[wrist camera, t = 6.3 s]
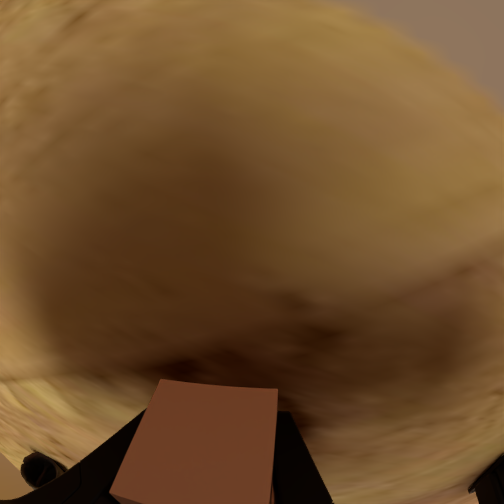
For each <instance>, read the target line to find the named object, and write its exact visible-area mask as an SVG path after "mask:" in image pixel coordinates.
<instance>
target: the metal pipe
mask: <svg viewBox="0 0 504 504" xmlns="http://www.w3.org/2000/svg"><path fill="white" fill-rule="evenodd" d="M23 462H24V464H22V465H21V475H22V477H23V478H24V479H25V481H26V483H27V484H28V485H29V486H31V487H32V488H33V489H34V490H35V489H37V488H39V487H41V486H43V485H45V484H47V483H48V482H50V481H52V480H53V479H55V478H57V477H58V476H60V475H62V474H63V473H64V472H63V471H62V470H61V468H60V467H59V466H58V465H57V464H56V463H55V462H54V461H53V460H52V459H51V458H49V457H47V456H45V455H43V454H41V453H39V452H36V453H32V454H30V455H28V456H27V457H25V458H24V460H23Z"/></svg>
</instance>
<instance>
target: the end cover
mask: <svg viewBox="0 0 504 504" xmlns="http://www.w3.org/2000/svg"><path fill="white" fill-rule="evenodd" d="M277 403H278V389H268V388H246V387H231V386H218V385H207V384H198V383H189V382H180V381H173V380H166V379H160V381H159V384H158V386H157V388H156V390H155V392H154V394H153V396H152V398H151V401H150V403H149V405H148V407H147V409H146V411H145V413H144V416H143V418H142V420H141V422H140V424H139V426H138V429H137V431H136V433H135V435H134V437H133V440H132V442H131V444H130V446H129V448H128V451H127V453H126V455H125V457H124V460H123V462H122V464H121V466H120V469H119V471H118V473H117V475H116V478H115V480H114V482H113V485H112V487H111V489H110V491H109V493H110V494H111V495H112V496H113V497H114V498H115V499H116V500H117V501H118V502H119V503H120V504H274V496H273V465H274V448H275V435H276V421H277Z"/></svg>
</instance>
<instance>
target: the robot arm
mask: <svg viewBox="0 0 504 504" xmlns="http://www.w3.org/2000/svg"><path fill="white" fill-rule="evenodd" d="M146 409H147V408H146ZM146 409H145V410H143V411H142V412H141V413H140V414H139V415H137V416H136V417H135V418H134V419H133V420H131V421H130V422H129V423H128V424H126V425H125V426H124V427H123V428H122V429H120V430H119V431H118V432H117V433H115V434H114V435H113V436H112V437H110V438H109V439H108V440H107V441H105V442H104V443H103V444H101V445H100V446H99V447H98V448H96V449H95V450H94V451H93V452H91V453H90V454H89V455H87V456H86V457H85V458H83V459H82V460H81V461H80V462H78V463H77V464H75V465H74V466H73V467H71V468H70V469H69V470H67V471H66V472H64V473H63V474H62V475H60V476H58V477H57V478H55V479H53V480H52V481H50V482H48V483H47V484H45V485H43V486H41V487H39V488H37V489H35V490H34V491H32V492H30V493H28V494H26V495H24V496H22V497H19V498H16V499H12V500H0V504H120V503H119V502H118V501H117V500H116V499H115V498H114V497H113V496H112V495H111V494H110V493H109V491H110V489H111V487H112V485H113V482H114V480H115V478H116V475H117V473H118V471H119V469H120V466H121V464H122V462H123V460H124V457H125V455H126V453H127V451H128V448H129V446H130V444H131V442H132V440H133V437H134V435H135V433H136V431H137V429H138V426H139V424H140V422H141V420H142V418H143V416H144V413H145V411H146ZM468 492H469V494H470V493H473V492H476V495H477V498H478V502H479V504H504V455H503V456H502V457H501V458H500V459H499V460H498V461H497V462H496V463H495V464H494V465H493V466H492V467H491V468H490V469H489V470H488V471H487V472H486V473H485V474H484V475H483V476H482V477H481V478H480V479H479V480H478V481H477V482H476V483H475V484H474V485H473V486H472V487H471V488H470V489H468ZM273 496H274V504H334V503H332V502H333V500H332V498H331V496H330V494H329V492H328V490H327V488H326V486H325V484H324V482H323V480H322V478H321V476H320V474H319V472H318V470H317V468H316V465H315V463H314V461H313V459H312V457H311V455H310V453H309V451H308V449H307V447H306V444H305V442H304V440H303V438H302V436H301V434H300V432H299V429H298V427H297V425H296V423H295V421H294V419H293V417H292V414H291V413H290V412H289V411H278V412H277V421H276V435H275V448H274V465H273Z"/></svg>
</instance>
